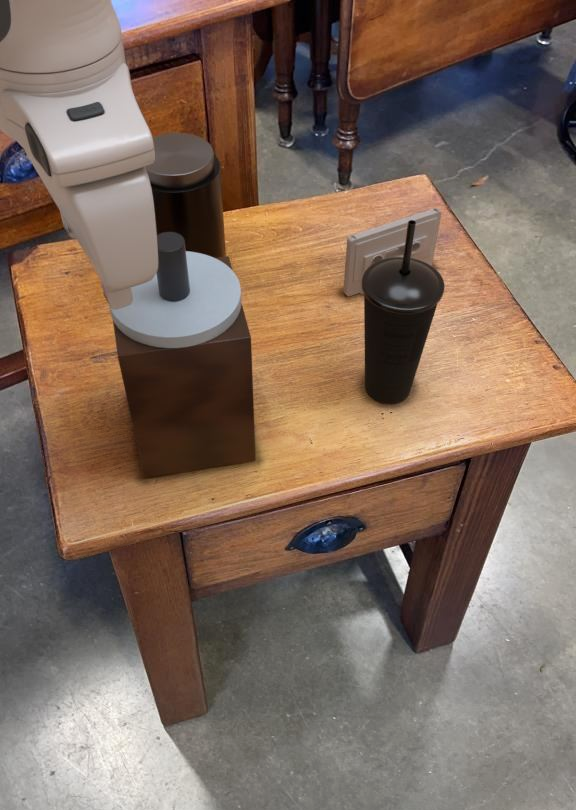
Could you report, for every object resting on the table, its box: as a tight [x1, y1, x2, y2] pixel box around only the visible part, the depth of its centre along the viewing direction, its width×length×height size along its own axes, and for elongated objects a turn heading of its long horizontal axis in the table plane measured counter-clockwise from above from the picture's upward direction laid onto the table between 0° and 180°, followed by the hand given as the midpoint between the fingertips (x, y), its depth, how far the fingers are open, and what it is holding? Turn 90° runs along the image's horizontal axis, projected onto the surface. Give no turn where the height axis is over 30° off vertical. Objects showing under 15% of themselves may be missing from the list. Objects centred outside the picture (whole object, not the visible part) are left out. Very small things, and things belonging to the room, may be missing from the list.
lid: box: [108, 232, 242, 348], centre depth 68 cm, size 11×11×6 cm
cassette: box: [342, 207, 442, 297], centre depth 95 cm, size 12×2×8 cm, turn 118°
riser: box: [112, 255, 257, 479], centre depth 77 cm, size 11×11×16 cm
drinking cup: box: [361, 220, 445, 405], centre depth 79 cm, size 8×8×20 cm
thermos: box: [145, 132, 227, 258], centre depth 92 cm, size 9×9×16 cm
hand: (97, 266), depth 64 cm, fingers open, 8 cm apart
